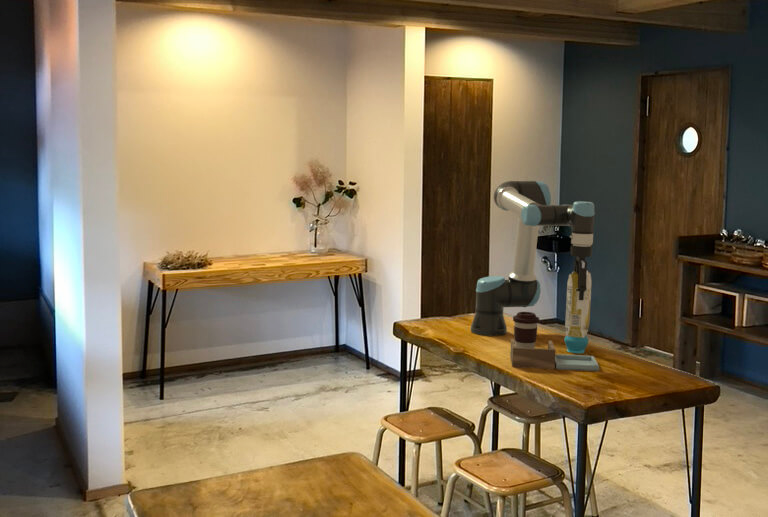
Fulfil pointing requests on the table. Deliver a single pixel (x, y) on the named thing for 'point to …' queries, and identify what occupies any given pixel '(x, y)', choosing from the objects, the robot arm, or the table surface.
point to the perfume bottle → (576, 344)
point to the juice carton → (577, 317)
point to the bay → (533, 356)
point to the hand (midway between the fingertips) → (578, 306)
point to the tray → (576, 362)
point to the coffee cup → (525, 329)
